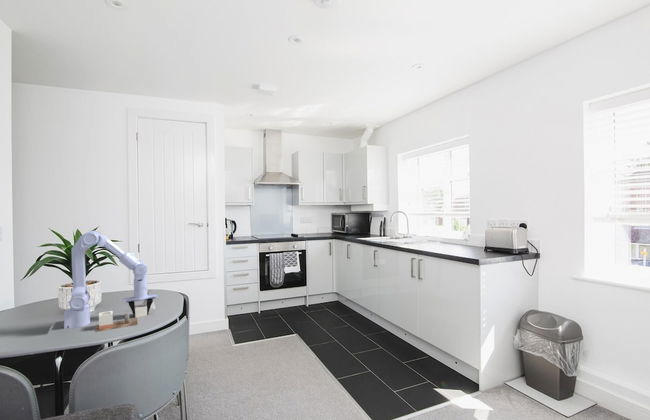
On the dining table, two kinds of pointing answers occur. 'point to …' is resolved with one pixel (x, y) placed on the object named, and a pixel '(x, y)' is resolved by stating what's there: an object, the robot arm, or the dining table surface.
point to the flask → (152, 302)
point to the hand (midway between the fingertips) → (140, 315)
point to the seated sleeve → (105, 320)
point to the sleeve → (140, 310)
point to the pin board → (120, 324)
